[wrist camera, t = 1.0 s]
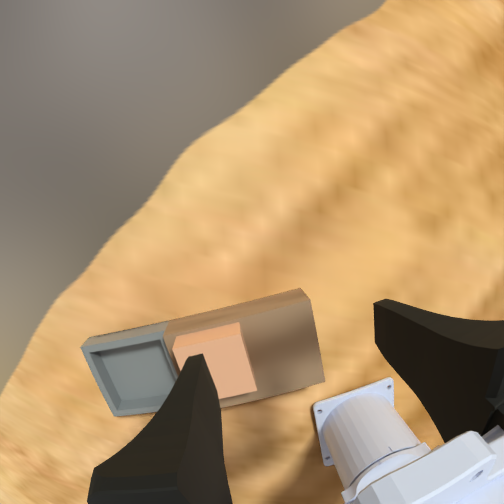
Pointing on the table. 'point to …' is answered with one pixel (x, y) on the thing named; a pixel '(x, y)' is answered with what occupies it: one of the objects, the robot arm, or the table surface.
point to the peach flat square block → (220, 357)
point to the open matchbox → (265, 342)
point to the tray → (132, 368)
